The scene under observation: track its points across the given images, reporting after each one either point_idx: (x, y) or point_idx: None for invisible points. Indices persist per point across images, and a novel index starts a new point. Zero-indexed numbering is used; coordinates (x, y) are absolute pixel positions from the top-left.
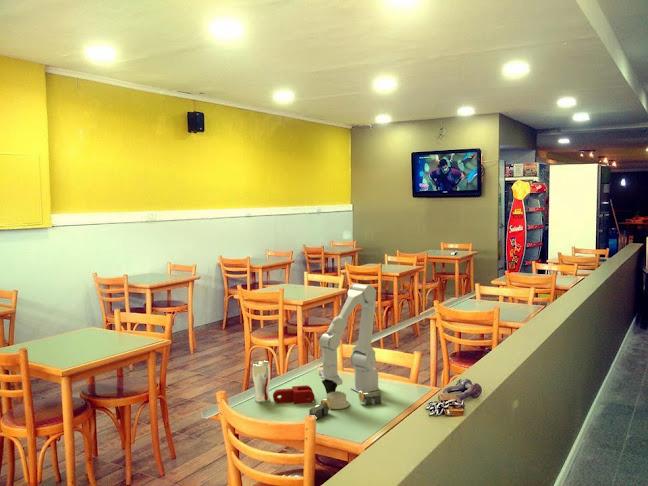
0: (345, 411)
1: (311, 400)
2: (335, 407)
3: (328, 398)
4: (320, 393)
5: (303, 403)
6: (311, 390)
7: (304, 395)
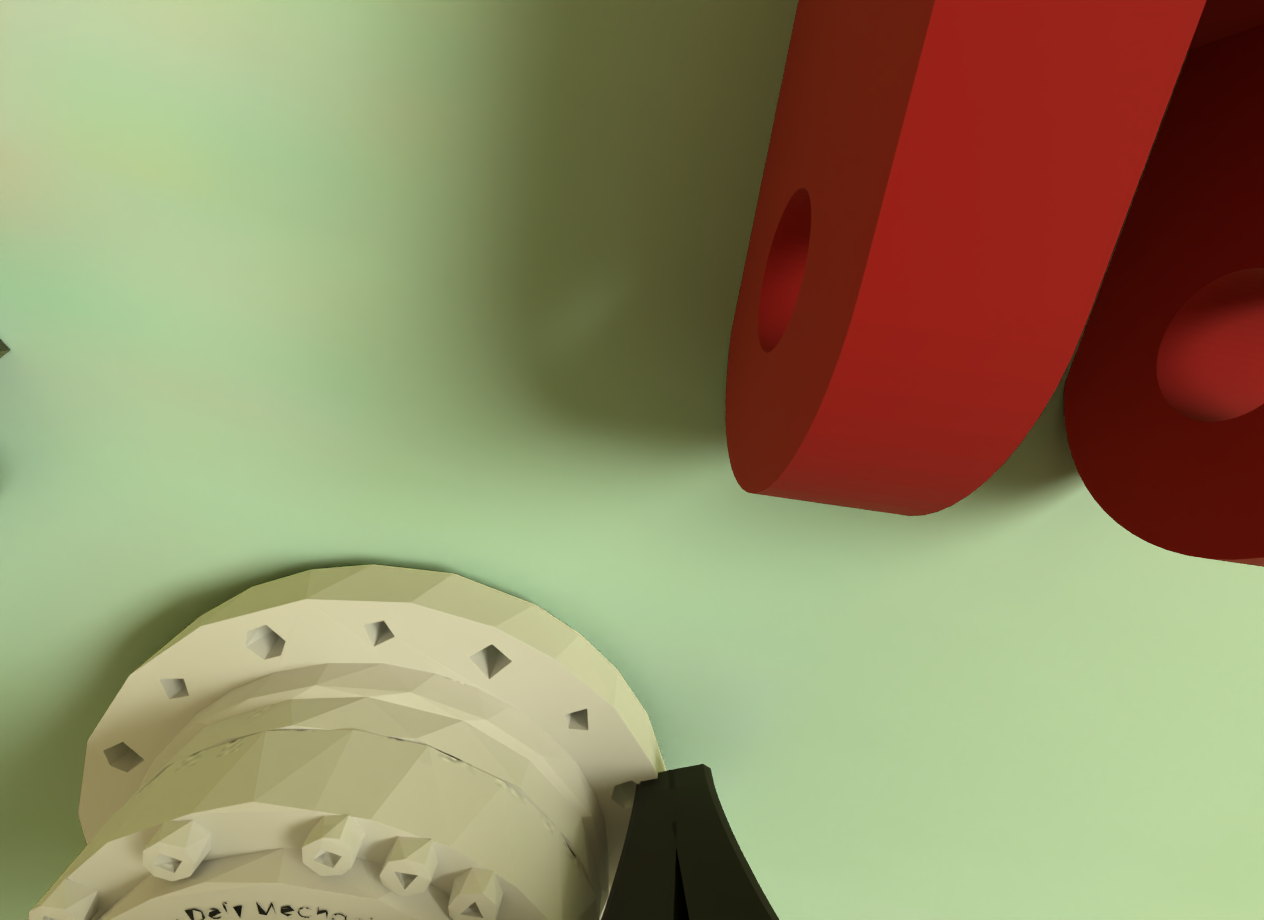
0: (41, 828)
1: (739, 362)
2: (105, 740)
3: (199, 785)
4: (1194, 702)
5: (776, 122)
6: (1213, 533)
7: (845, 111)
